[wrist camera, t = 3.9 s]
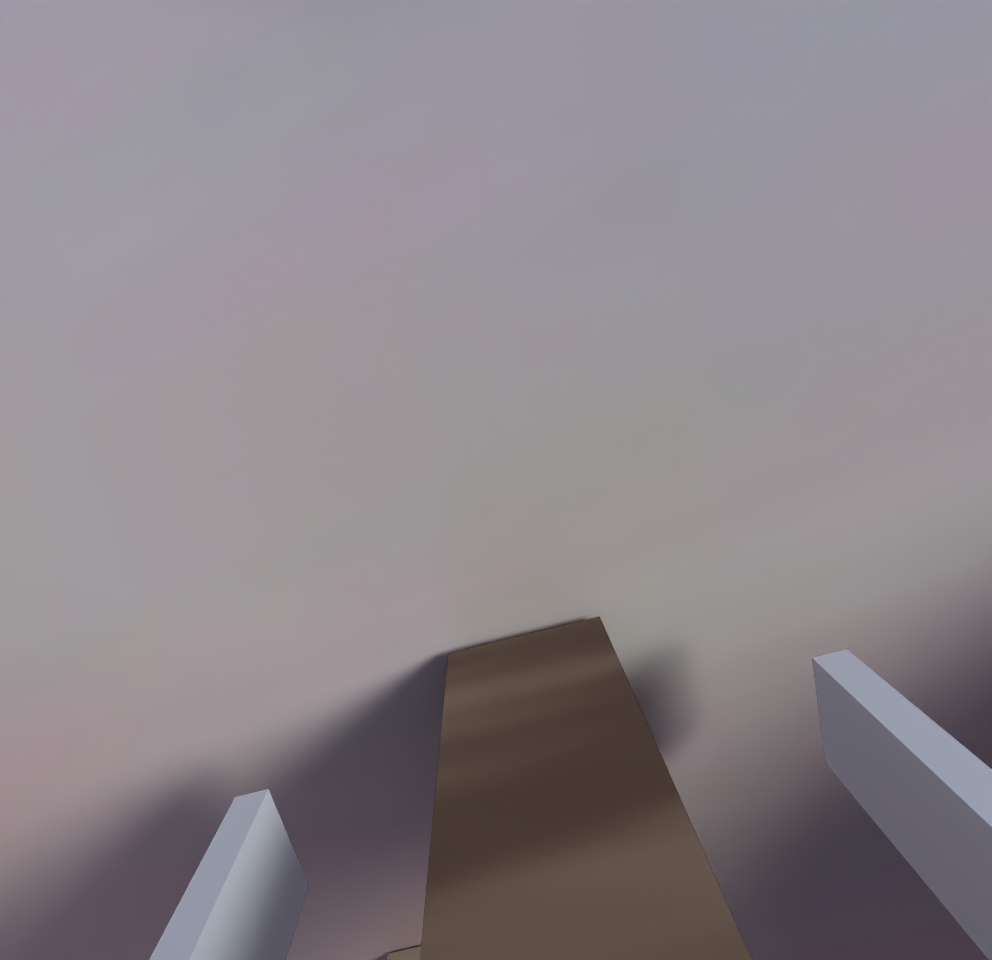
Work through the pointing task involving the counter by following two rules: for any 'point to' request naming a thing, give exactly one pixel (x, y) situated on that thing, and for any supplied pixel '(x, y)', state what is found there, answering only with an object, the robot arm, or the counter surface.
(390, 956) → the broken strip
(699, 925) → the wooden stand
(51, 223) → the counter surface
